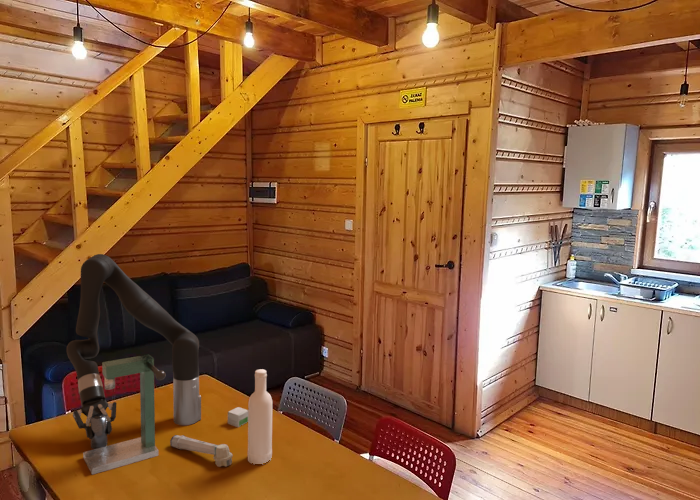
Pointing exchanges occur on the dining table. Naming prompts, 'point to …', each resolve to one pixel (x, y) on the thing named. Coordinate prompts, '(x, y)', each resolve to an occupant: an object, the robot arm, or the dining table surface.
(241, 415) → the small box
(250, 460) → the bottle
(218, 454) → the white handheld tool
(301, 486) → the dining table surface
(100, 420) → the cylinder
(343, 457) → the dining table surface
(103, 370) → the press
